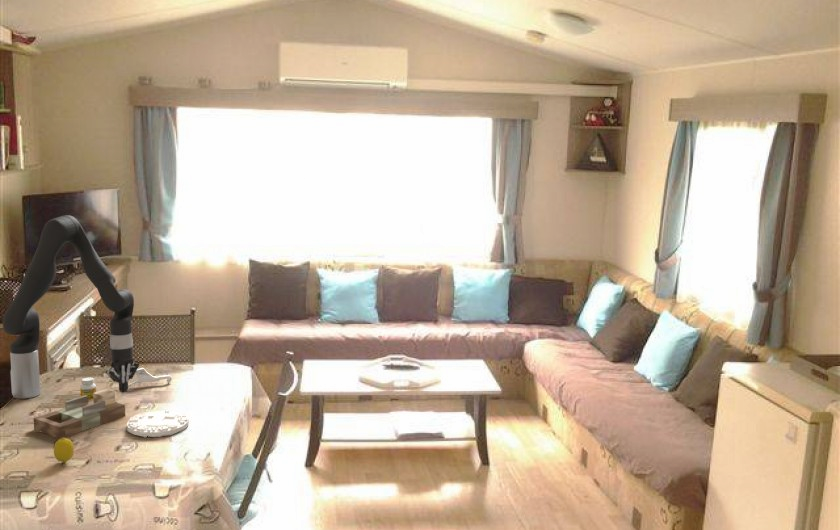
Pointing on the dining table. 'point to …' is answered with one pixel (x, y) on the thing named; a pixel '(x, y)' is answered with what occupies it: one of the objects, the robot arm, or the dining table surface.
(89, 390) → the supplement bottle
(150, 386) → the dining table surface
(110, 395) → the maple block
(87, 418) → the walnut deck
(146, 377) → the llama figurine
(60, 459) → the lemon
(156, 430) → the white flat round disc
